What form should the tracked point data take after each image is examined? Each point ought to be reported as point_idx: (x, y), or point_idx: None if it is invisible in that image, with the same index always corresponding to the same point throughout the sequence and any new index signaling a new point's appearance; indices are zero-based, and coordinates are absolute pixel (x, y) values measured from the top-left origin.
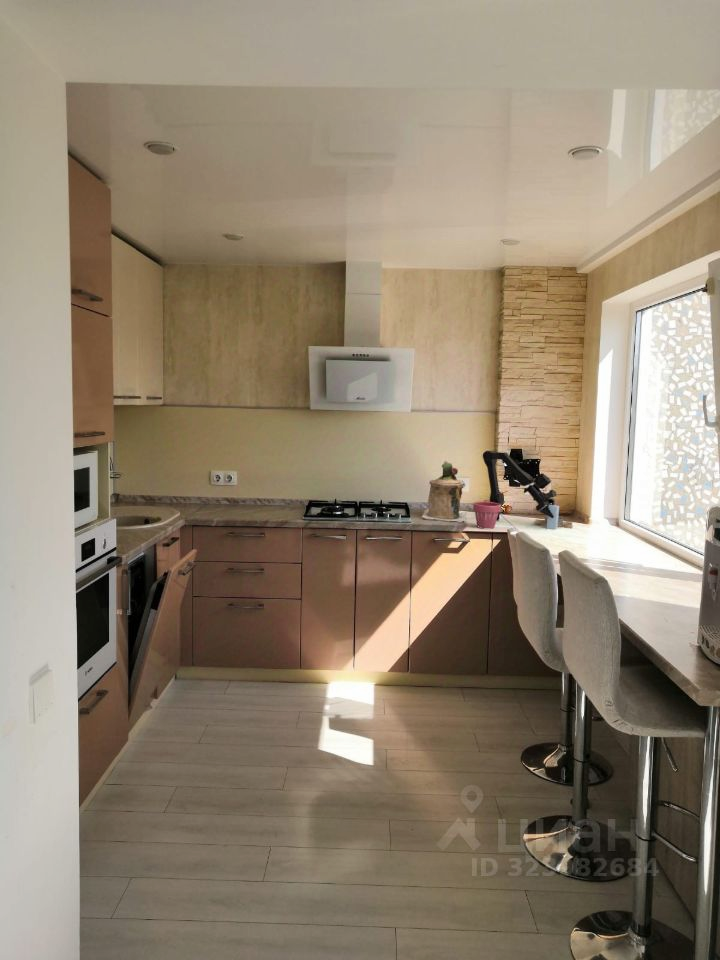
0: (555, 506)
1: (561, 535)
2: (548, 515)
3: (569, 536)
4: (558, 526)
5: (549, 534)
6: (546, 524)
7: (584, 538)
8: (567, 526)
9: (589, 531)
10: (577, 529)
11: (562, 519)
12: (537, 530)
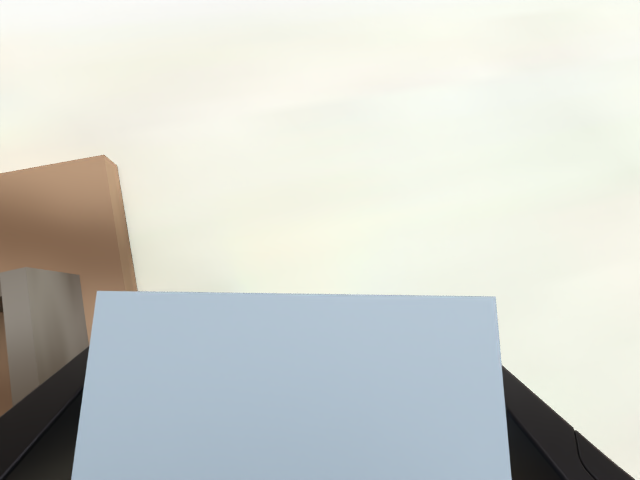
0: (480, 374)
1: (589, 179)
2: None
3: (576, 113)
4: None
5: (635, 281)
6: None
7: (559, 4)
8: (116, 212)
9: (185, 3)
10: (146, 111)
11: (27, 276)
12: None
